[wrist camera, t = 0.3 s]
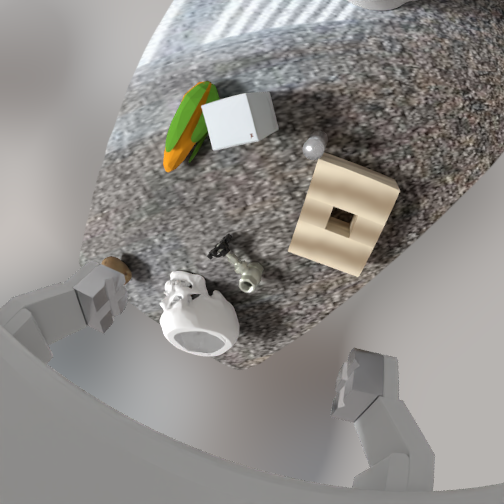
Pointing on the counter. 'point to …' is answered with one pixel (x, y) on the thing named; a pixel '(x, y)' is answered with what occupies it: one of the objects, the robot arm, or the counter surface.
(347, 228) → the hole block
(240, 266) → the valve
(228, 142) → the supplement box
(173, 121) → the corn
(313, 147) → the steel peg
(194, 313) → the skull planter
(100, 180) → the counter surface
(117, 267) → the potato
